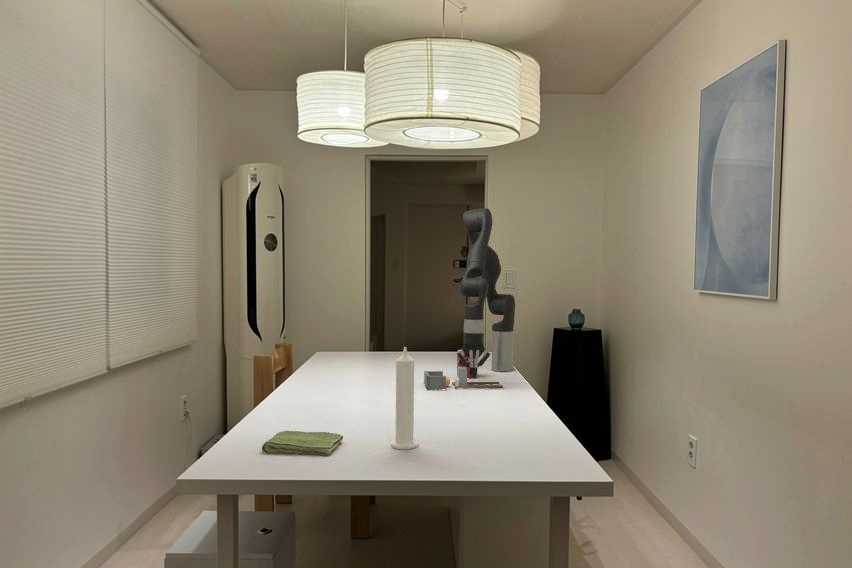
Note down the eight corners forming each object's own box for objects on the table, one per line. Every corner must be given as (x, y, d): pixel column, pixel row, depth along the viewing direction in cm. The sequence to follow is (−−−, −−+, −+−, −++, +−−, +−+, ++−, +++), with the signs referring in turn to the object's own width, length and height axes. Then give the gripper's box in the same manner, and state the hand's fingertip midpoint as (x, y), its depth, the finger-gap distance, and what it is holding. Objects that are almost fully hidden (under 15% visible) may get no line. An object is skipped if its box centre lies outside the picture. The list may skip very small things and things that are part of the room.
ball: (447, 373, 227) (450, 383, 227) (437, 377, 226) (441, 387, 227) (448, 375, 223) (452, 385, 223) (438, 379, 222) (442, 389, 223)
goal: (424, 384, 230) (424, 371, 229) (442, 384, 230) (442, 371, 230) (426, 390, 219) (426, 376, 218) (445, 390, 219) (445, 376, 219)
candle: (403, 439, 156) (404, 344, 156) (424, 445, 152) (425, 346, 151) (384, 445, 151) (385, 346, 150) (405, 451, 146) (406, 349, 146)
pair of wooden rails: (452, 384, 229) (452, 382, 229) (498, 384, 230) (498, 381, 230) (454, 389, 221) (454, 386, 221) (503, 388, 222) (503, 386, 222)
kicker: (455, 384, 228) (455, 366, 227) (465, 384, 228) (465, 366, 228) (456, 387, 222) (457, 368, 222) (467, 387, 223) (467, 368, 223)
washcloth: (331, 458, 142) (331, 445, 142) (259, 455, 144) (259, 442, 144) (344, 442, 155) (344, 430, 155) (277, 439, 157) (278, 427, 157)
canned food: (453, 376, 246) (454, 349, 246) (470, 375, 250) (471, 348, 249) (462, 379, 239) (463, 352, 239) (480, 378, 243) (480, 351, 242)
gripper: (489, 330, 229) (488, 375, 230) (454, 330, 228) (454, 375, 228) (493, 332, 222) (492, 379, 222) (457, 332, 220) (457, 379, 221)
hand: (473, 377), depth 225 cm, fingers closed
